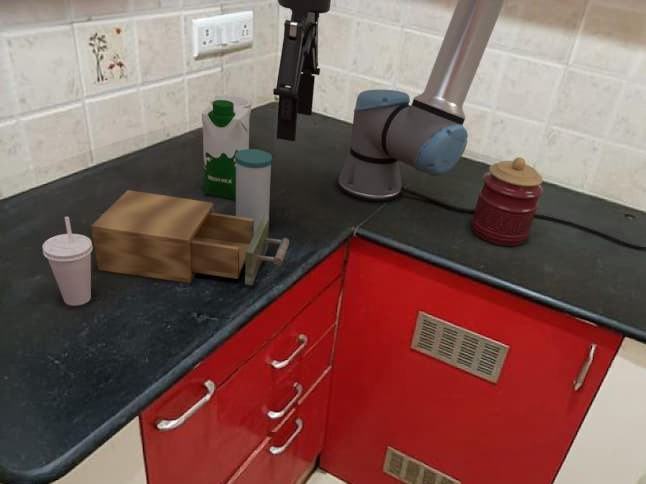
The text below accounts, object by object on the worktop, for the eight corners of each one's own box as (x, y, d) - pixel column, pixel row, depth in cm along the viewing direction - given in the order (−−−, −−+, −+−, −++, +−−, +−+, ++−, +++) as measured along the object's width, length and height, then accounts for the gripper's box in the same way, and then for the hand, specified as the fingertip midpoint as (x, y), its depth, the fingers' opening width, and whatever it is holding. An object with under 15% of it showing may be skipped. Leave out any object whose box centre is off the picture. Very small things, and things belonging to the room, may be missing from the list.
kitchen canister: (479, 213, 132) (499, 141, 122) (532, 230, 128) (557, 158, 118) (462, 234, 121) (482, 157, 112) (519, 253, 118) (545, 176, 108)
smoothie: (98, 309, 84) (84, 228, 76) (50, 312, 82) (31, 229, 74) (102, 285, 89) (90, 206, 81) (57, 287, 87) (40, 206, 79)
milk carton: (200, 196, 119) (196, 102, 108) (214, 179, 126) (212, 90, 115) (240, 203, 118) (241, 110, 107) (252, 186, 126) (254, 97, 115)
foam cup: (214, 143, 144) (213, 92, 136) (251, 147, 145) (252, 97, 138) (209, 157, 136) (208, 104, 129) (248, 161, 137) (249, 109, 130)
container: (272, 221, 114) (275, 152, 106) (265, 237, 108) (268, 165, 100) (239, 216, 114) (240, 146, 105) (230, 232, 108) (230, 159, 100)
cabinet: (214, 242, 104) (213, 202, 99) (190, 283, 92) (188, 240, 88) (132, 230, 103) (127, 189, 99) (97, 269, 92) (90, 225, 87)
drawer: (291, 251, 104) (293, 221, 100) (278, 289, 93) (279, 257, 89) (192, 236, 103) (190, 205, 99) (167, 273, 92) (165, 239, 89)
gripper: (297, -32, 89) (289, 101, 100) (256, -20, 68) (251, 147, 79) (344, -24, 89) (330, 108, 100) (316, -9, 68) (303, 156, 79)
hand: (295, 126), depth 90 cm, fingers open, 13 cm apart
